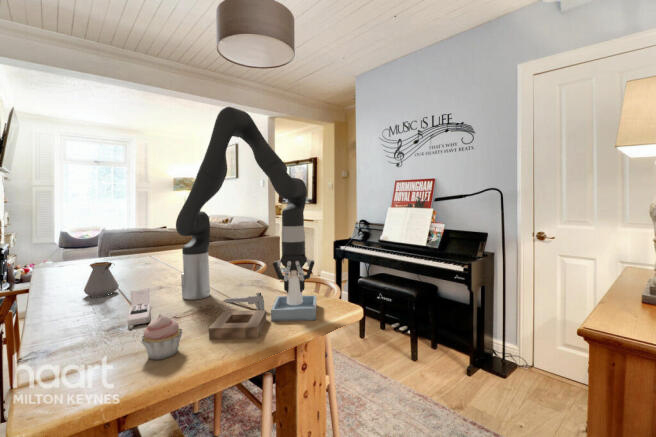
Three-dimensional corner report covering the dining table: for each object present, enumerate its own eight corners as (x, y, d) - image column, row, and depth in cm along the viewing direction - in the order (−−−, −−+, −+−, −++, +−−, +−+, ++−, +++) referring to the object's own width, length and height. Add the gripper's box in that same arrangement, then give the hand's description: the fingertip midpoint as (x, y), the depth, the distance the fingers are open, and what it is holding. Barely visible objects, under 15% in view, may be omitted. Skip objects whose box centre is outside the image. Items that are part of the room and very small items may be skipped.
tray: (271, 321, 96) (270, 309, 96) (277, 306, 110) (277, 296, 109) (315, 320, 96) (315, 308, 96) (316, 305, 110) (316, 295, 110)
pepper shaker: (296, 306, 99) (295, 272, 98) (283, 303, 102) (282, 270, 101) (306, 301, 103) (305, 268, 103) (293, 299, 106) (292, 267, 106)
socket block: (209, 339, 84) (208, 328, 84) (224, 320, 97) (224, 311, 97) (257, 338, 84) (257, 327, 84) (266, 319, 97) (266, 310, 97)
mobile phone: (149, 287, 115) (149, 307, 93) (150, 303, 116) (150, 326, 94) (130, 290, 112) (125, 311, 90) (131, 306, 113) (126, 331, 91)
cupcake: (148, 347, 80) (146, 309, 79) (187, 343, 82) (185, 305, 82) (134, 366, 71) (132, 323, 70) (179, 360, 73) (177, 318, 72)
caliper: (264, 311, 105) (264, 293, 105) (262, 312, 105) (261, 293, 104) (225, 301, 117) (225, 284, 117) (223, 301, 116) (222, 285, 116)
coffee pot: (81, 295, 127) (78, 258, 126) (114, 288, 135) (112, 254, 134) (94, 306, 112) (92, 265, 112) (130, 298, 121) (128, 260, 120)
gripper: (269, 241, 98) (270, 295, 99) (314, 240, 98) (316, 294, 99) (273, 238, 105) (274, 288, 106) (315, 237, 105) (316, 288, 106)
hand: (294, 291), depth 102 cm, fingers closed on pepper shaker, 4 cm apart
